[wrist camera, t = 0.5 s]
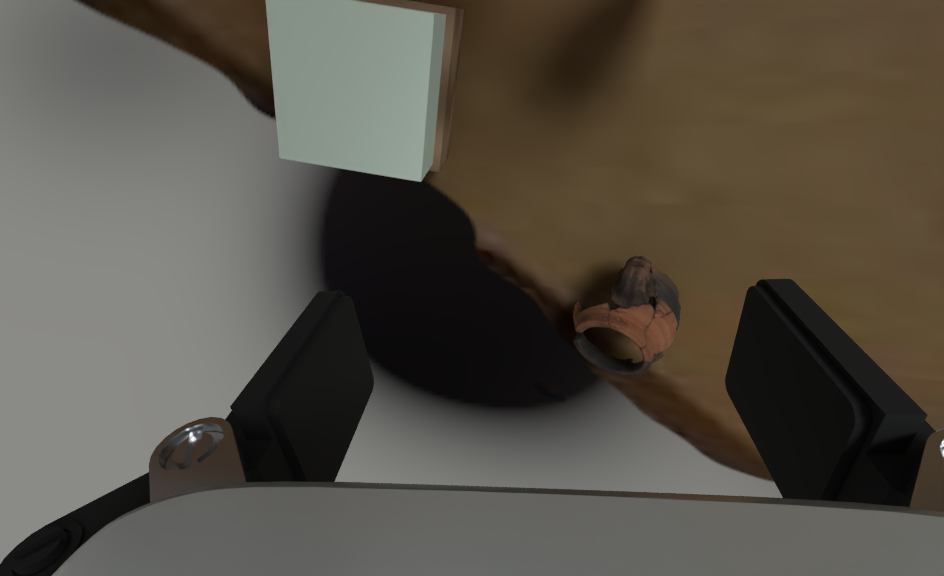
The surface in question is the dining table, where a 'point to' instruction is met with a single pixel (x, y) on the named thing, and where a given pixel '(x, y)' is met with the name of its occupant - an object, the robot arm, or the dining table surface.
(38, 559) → the robot arm
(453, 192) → the dining table surface
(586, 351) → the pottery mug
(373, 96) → the sage top block
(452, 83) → the walnut base block
